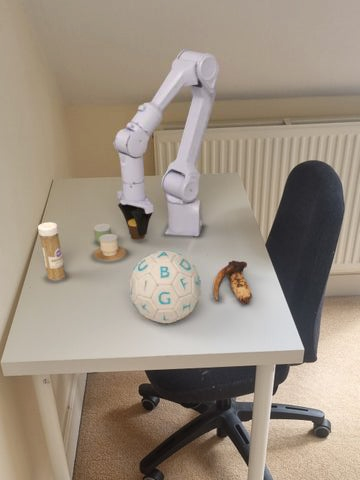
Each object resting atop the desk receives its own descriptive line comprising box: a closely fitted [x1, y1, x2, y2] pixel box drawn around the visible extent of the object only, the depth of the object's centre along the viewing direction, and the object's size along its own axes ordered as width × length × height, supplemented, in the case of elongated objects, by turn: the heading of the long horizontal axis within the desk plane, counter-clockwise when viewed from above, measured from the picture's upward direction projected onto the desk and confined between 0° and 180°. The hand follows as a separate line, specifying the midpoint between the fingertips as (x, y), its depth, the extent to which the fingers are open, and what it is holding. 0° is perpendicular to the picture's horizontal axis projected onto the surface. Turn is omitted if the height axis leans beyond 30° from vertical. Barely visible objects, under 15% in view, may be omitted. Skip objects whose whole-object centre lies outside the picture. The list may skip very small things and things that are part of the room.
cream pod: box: [99, 233, 119, 256], centre depth 153 cm, size 5×5×4 cm
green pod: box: [93, 223, 112, 244], centre depth 161 cm, size 5×5×4 cm
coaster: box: [93, 246, 127, 261], centre depth 155 cm, size 8×8×1 cm
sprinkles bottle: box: [37, 221, 66, 281], centre depth 142 cm, size 5×5×14 cm
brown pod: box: [128, 219, 146, 241], centre depth 157 cm, size 5×5×4 cm
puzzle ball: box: [128, 250, 202, 325], centre depth 124 cm, size 15×15×15 cm
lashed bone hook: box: [212, 260, 253, 305], centre depth 136 cm, size 9×5×18 cm
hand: (137, 231), depth 157 cm, fingers closed on brown pod, 4 cm apart
